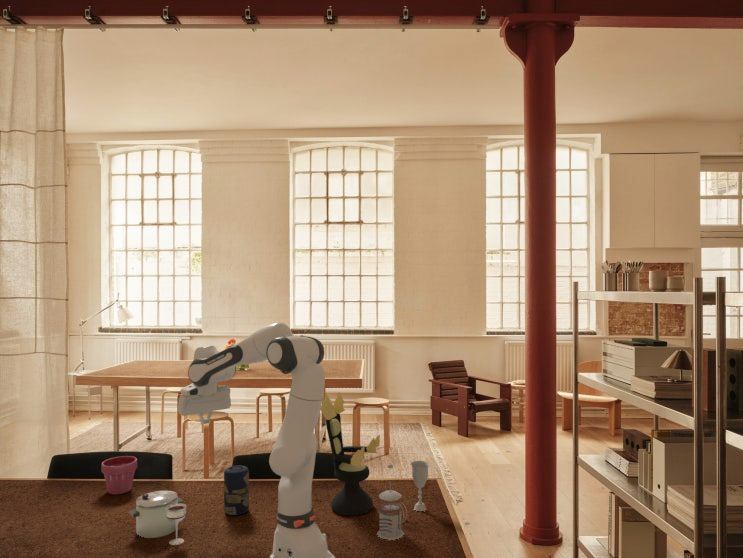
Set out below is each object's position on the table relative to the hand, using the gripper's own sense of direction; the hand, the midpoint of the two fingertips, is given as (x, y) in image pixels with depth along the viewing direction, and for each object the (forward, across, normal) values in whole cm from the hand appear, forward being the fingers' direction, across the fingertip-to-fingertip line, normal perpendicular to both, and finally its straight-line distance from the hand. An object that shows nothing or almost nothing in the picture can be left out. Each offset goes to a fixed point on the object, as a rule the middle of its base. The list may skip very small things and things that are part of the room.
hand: (205, 423), depth 218 cm
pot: (+35, +19, +1) cm, 40 cm away
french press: (+35, -43, +60) cm, 82 cm away
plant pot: (+35, +18, -47) cm, 61 cm away
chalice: (+35, -66, +51) cm, 91 cm away
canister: (+35, -10, +6) cm, 37 cm away
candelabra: (+35, -45, +31) cm, 65 cm away
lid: (+25, +19, +1) cm, 31 cm away
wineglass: (+35, +17, +15) cm, 42 cm away
